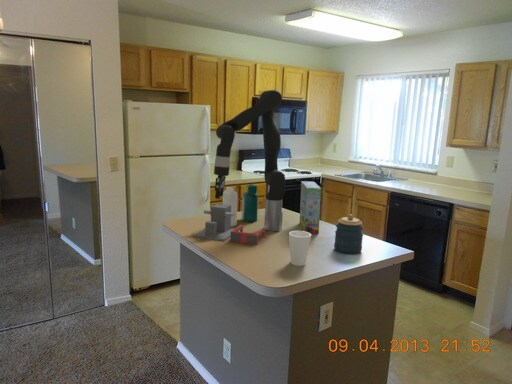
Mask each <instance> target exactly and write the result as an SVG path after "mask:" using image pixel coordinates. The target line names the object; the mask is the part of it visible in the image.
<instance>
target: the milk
mask: <svg viewBox="0 0 512 384" xmlns="http://www.w3.org/2000/svg"><path fill="white" fill-rule="evenodd" d="M222 204H223V205H231V213H234V216H233V217H231V227H234V226H237V219H238V217H237V216H238V192H236V191H235V187H232V186H226V189H225V190H223V196H222Z"/></svg>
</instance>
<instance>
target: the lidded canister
mask: <svg viewBox="0 0 512 384" xmlns="http://www.w3.org/2000/svg"><path fill="white" fill-rule="evenodd" d="M337 222H338V223H336V224H335V227H336V230H335V235H334V244H333V245H334V246H333V247H334V250H335V251H336V252H338V253H340V254H345V255H358V254H361V253H362V250H363V246H362V245H363V238H364V237H363V236H364V234H363V230H364V229H365V227H364V226H363V221H361V220H360V219H359V218H356V217H354V215H353V214H348V215H347V216H345V217H344V216H343V217H341V218H339V219H338V220H337Z"/></svg>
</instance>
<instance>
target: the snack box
mask: <svg viewBox="0 0 512 384" xmlns="http://www.w3.org/2000/svg"><path fill="white" fill-rule="evenodd" d="M321 197H322V188H321V186H320V185H318V184H317V183H316V182H315V181H306V180H304V181H303V180H302V181H301V182H300V205H299V225H300V226H301V229H302V231H305V232H309V233H310V234H311V235H314V234H315V235H319V233H320V232H319V231H320V218H321V217H320V215H321V201H322V200H321V199H322V198H321Z"/></svg>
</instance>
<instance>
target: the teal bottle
mask: <svg viewBox="0 0 512 384" xmlns="http://www.w3.org/2000/svg"><path fill="white" fill-rule="evenodd" d="M245 186H246V187H247V190H246V191H243V193H242V196H241V197H242V198H241V199H242V202H241V203H242V204H241V220H242V221H243V222H245V223H254V222H255V223H256V222H257V221H258V213H259V212H258V211H259V210H258V209H259V194H258V193H257V192H258V186H257V185H255V184H252V183H251V184H246V185H245Z"/></svg>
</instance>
